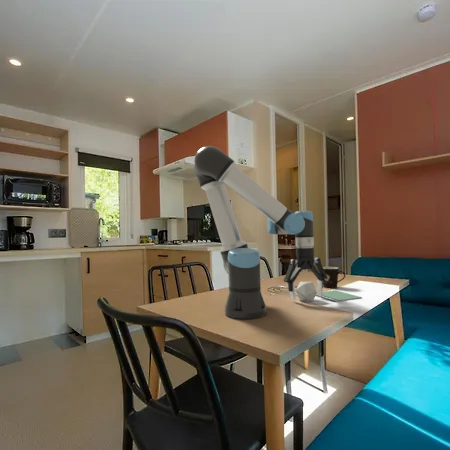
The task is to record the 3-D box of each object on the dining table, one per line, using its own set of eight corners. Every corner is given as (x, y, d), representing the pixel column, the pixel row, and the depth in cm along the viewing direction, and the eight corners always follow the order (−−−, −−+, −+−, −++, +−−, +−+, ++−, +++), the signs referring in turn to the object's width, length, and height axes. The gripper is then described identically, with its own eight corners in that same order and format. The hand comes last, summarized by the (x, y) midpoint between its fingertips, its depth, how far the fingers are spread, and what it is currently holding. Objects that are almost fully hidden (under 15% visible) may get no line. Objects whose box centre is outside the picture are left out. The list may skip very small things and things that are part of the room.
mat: (339, 301, 117) (339, 300, 117) (314, 293, 132) (314, 292, 132) (361, 298, 121) (361, 297, 121) (335, 291, 136) (335, 290, 136)
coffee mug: (318, 286, 149) (317, 267, 149) (331, 285, 151) (331, 266, 151) (332, 290, 138) (331, 270, 138) (347, 289, 140) (346, 268, 140)
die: (319, 300, 122) (307, 281, 127) (323, 294, 115) (310, 274, 120) (302, 308, 121) (291, 288, 126) (305, 302, 114) (293, 281, 119)
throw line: (334, 301, 116) (334, 301, 116) (310, 294, 132) (310, 293, 132) (336, 301, 117) (336, 300, 117) (312, 293, 132) (312, 293, 132)
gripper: (284, 249, 113) (285, 302, 112) (334, 246, 121) (336, 296, 121) (274, 248, 120) (276, 298, 120) (323, 245, 128) (324, 292, 128)
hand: (306, 297), depth 120 cm, fingers open, 13 cm apart
